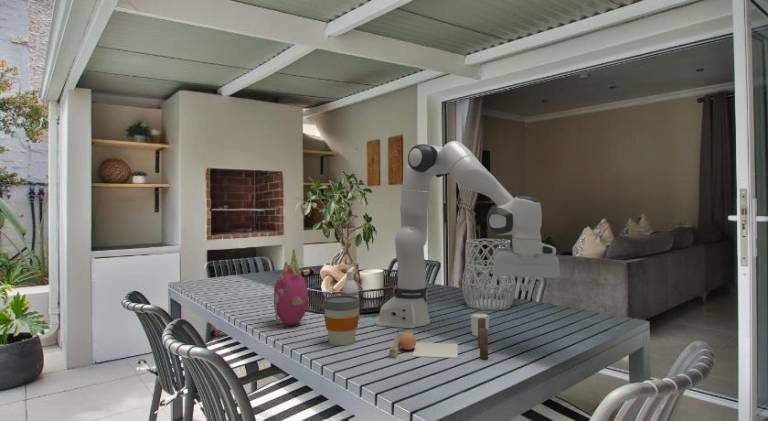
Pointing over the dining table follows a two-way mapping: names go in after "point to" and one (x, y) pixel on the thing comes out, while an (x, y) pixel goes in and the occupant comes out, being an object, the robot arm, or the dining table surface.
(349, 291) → the bath foam
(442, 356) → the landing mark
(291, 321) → the pink dragon fruit
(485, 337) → the post
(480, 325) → the post
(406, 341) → the ball
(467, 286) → the vase
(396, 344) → the stopper rail
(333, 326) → the reusable coffee cup
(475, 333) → the shot glass
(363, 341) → the dining table surface
